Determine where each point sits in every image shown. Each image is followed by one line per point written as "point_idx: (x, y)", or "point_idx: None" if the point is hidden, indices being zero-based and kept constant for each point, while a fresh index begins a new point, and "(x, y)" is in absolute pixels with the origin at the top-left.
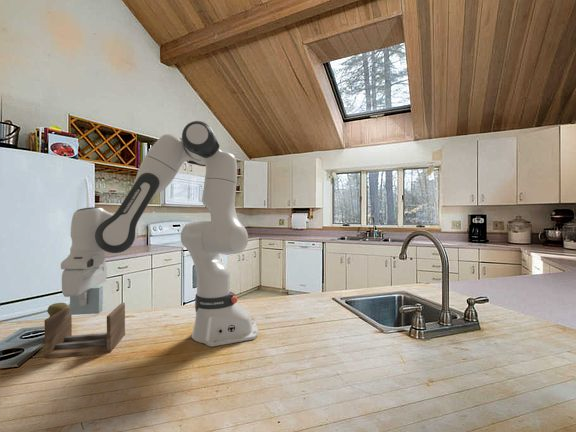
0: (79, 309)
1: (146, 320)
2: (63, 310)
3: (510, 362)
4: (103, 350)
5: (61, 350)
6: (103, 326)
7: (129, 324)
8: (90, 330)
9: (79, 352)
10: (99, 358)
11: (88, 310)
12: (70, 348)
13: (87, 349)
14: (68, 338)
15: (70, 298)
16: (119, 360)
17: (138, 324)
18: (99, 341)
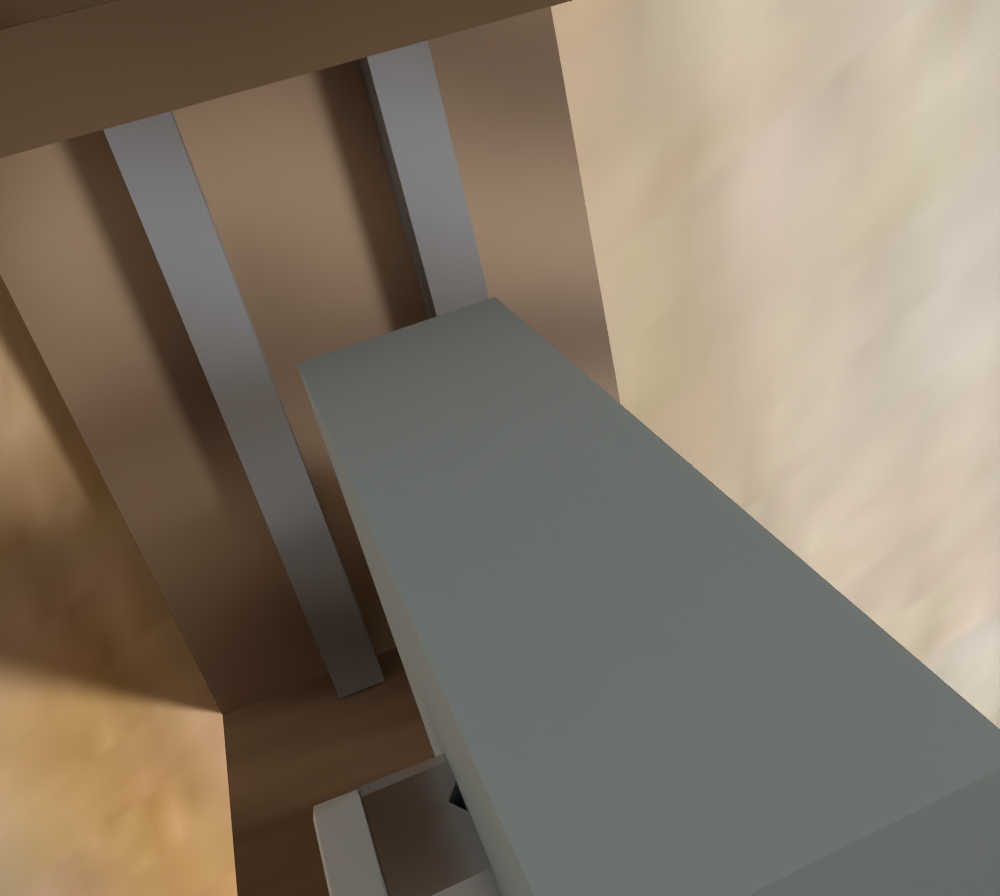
0: (388, 609)
1: (969, 521)
2: (481, 18)
3: None
4: (209, 682)
5: (78, 208)
6: (886, 129)
7: (895, 416)
8: (780, 33)
9: (105, 473)
10: (92, 712)
11: (429, 731)
12: (159, 289)
13: (178, 524)
14: (366, 70)
15: (411, 618)
16: (103, 892)
17: (879, 511)
18: (306, 600)
